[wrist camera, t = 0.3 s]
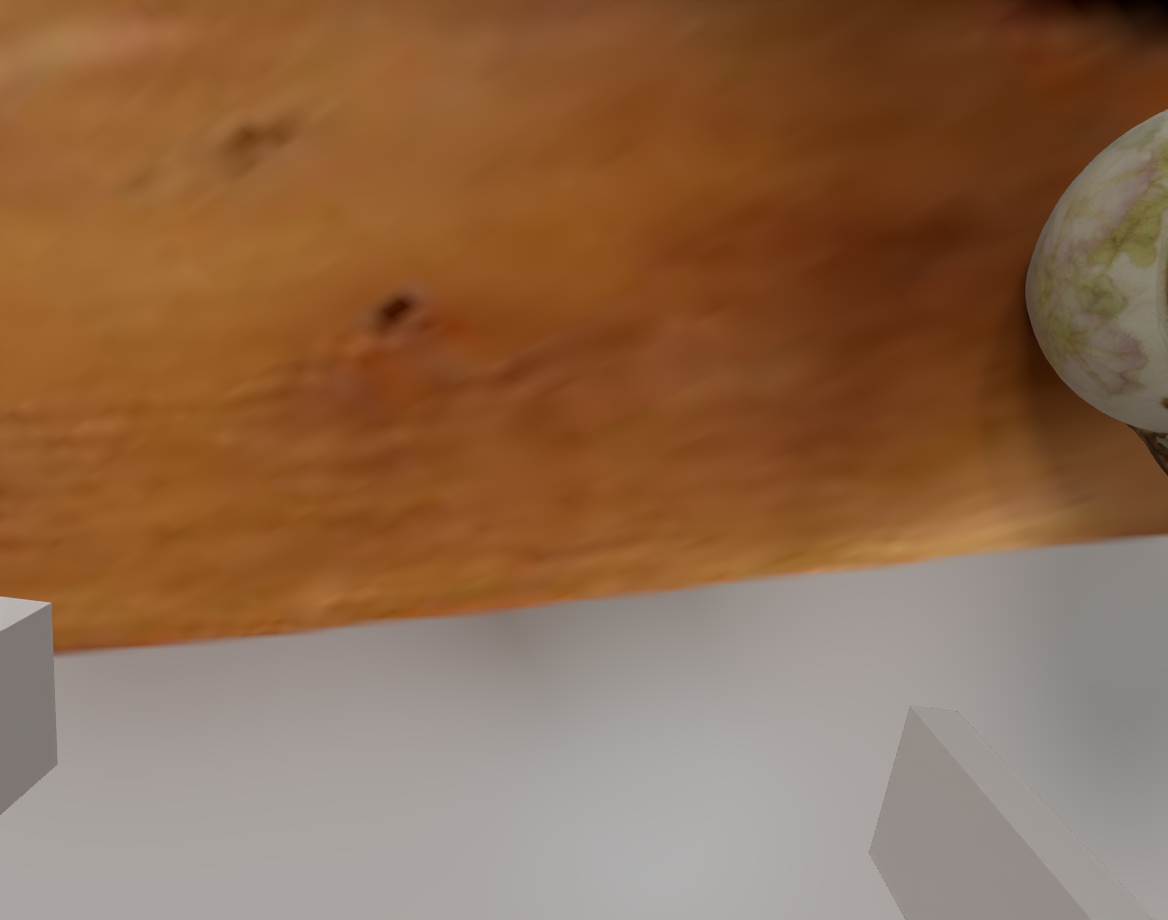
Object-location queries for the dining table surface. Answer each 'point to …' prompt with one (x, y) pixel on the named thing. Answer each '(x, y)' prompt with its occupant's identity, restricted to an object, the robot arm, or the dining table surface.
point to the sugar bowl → (1110, 284)
